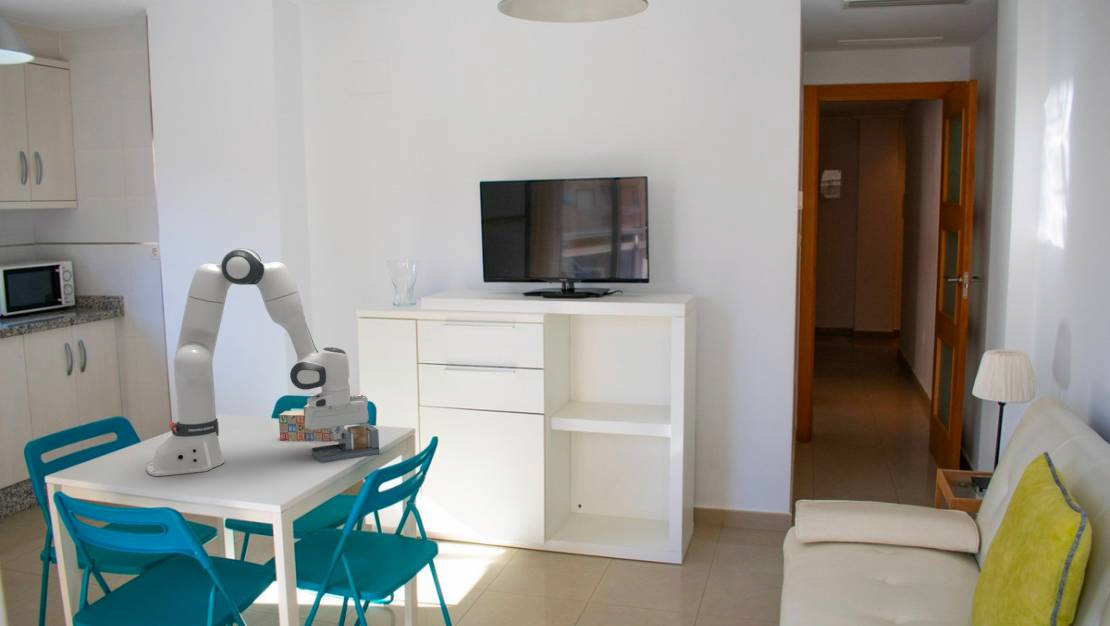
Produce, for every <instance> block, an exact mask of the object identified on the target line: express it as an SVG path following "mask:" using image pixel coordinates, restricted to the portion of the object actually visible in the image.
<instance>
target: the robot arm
mask: <svg viewBox="0 0 1110 626" xmlns="http://www.w3.org/2000/svg"><path fill="white" fill-rule="evenodd" d="M233 284H234V285H239V286H240V285H241V286H243V285H245V286H246V285H249V286H252V285H253V286H254V285H255V286H256V287H257V288H258V290H259V292H260V295H261V298H262V300H263V301H262V302H263V304H264V307H265V309H266V311H267V313H268V315H269V317H270V319H271V320H272V321H273V322H274V323H275V324H277V325H279V326H280V327H282V328H283V329H284V330H285V331H286V332H287V334H288V336H289V337H290V340H291V342H292V346H293V348H294V351H295V353H296V358H297V360H296V361H297V362H296V363H295V364H294V366H292V367H291V370H290V372H289V373H290V374H289V377H290V381H291V383H292V385H294V387H295V388H298V389H299V390H303V391H305V390H312V389H317V388H321V392H319V393H316V394H314V395H312V396H310V397H308V398H307V400H306V401H307V402H306V403H307V404H308V405H309V406H308V407H307V408H306V411H305V427H306V428H307V429H308V430H316V429H324V428H330V430H331V431H332V432H333V434H334V439H335V440H341V434H342V433H343V431H344V429H345V426H346V427H347V426H354V425H360V424H363V423H368V421H369V418H370V417H369V411H368V410H369V409H368V405H369V400H368V397H367V396H366V395H363V394H358V395H351V386H350V384H349V383H350V382H349V378H350V365H349V359H348V358H349V357H348V354H347V353H346V352H345V350H344V349H341V348H338V347H330V346H329V347H324V348H322V349H321V350H320V351H318V350H317V348H316V345H315V343H314V340H313V338H312V335H311V332H310V329H309V328H308V325H307V321H306V317H305V313H304V308H303V302H302V300H301V299H302V298H301V295H300V293H299V290H298V287H297V285H296V282H295V279H294V277H293V275H292V273H291V272H290V270H289V268H288V266H287V265H286V264H285V263H283V262H279V261H270V262H266V263H265V262H262V260H261V257H260V256H259V254H258V253H256V251H254V250H252V249H250V248H244V247H241V248H240V247H239V248H235V249H233V250H231V251H230V252H228V253H227V254H225V256H224V257H223V258H222V260H221V263H218V264H215V263H204V264H200V265H199V266H198V267H197V268H196V269H195V273H194V275H193V277H192V279H191V283H190V285H189V289H188V294H187V297H186V303H185V306H184V311H183V312H184V313H183V316H182V322H181V325H180V326H181V327H180V332H179V336H178V337H179V338H178V342H177V346H176V351H175V355H174V356H173V357H174V358H173V373H174V385H175V394H176V402H177V403H176V404H177V418H178V419H177V420H178V421H176V422H174V421H171V422H169V424H168V428H169V429H170V430H171V433H172V434H171V436H169V437H168V438H167V439H166V440H165V441H164V442H162V443H161V444H160V445H158V447H157V448H156V450H155V452H154V458H153V461H152V462H150V463H149V464H147V467H146V472H147V473H148V474H149V475H150V476H153V477H161V476H171V475H181V474H191V473H201V472H202V473H203V472H208V471H210V470H211V469H213V468H216V467H219V466H220V465H222V464H224V463H225V459H224V456H223V454H222V450H221V446H220V441H219V435H220V426H219V425H220V424H219V419H218V418H217V411H216V408H217V407H216V395H215V383H214V369H213V360H214V356H215V355H214V354H215V349H216V344H217V340H218V336H219V332H220V328H221V323H222V317H223V313H224V308H225V304H226V300H227V295H228V290H229V289H230V287H231V286H232V285H233ZM336 427H338V428H339V432H338V434H337V433H336V432H335V430H336Z"/></svg>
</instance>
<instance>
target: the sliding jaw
mask: <svg viewBox="0 0 1110 626" xmlns="http://www.w3.org/2000/svg"><path fill="white" fill-rule="evenodd" d="M338 432H339V429H338ZM338 444H339V447H340V448H341V449H343V450H344V451H350V450H354V446H353V433H351V432H350V431H348V430H347V428H344V431H343V433H342V434H341V440H338Z"/></svg>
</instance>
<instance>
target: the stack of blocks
mask: <svg viewBox="0 0 1110 626" xmlns="http://www.w3.org/2000/svg"><path fill="white" fill-rule="evenodd" d="M308 406H309V405H308V403H307V404H306V405H305V406H303V410H284V411H283V412H282V413H280V414H278V423H279V424H278V425H279V428H278V429H279V439H280V441H285V440H287V441H290V442H332V441H334V442H336V443H337V442H338V440H335V439H334V434H333V432H332V431H331V430H330V428H324V429H316V430H308V429H307V428H306V427H305V411H306V408H307V407H308ZM338 429H339V428H338V427H336V430H335V432H336V433H337V434H338ZM293 440H294V441H293ZM296 440H297V441H296ZM301 440H302V441H301ZM334 442H333V443H334ZM338 443H339V442H338Z"/></svg>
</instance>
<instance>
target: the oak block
mask: <svg viewBox="0 0 1110 626" xmlns="http://www.w3.org/2000/svg"><path fill="white" fill-rule="evenodd" d="M346 429H347V430H348V431H350V432H351V433H353V446H354V450H356V449H363V448H367V444H366V427H365V426H363V425H360V424H356V425H348V426H346Z"/></svg>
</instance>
